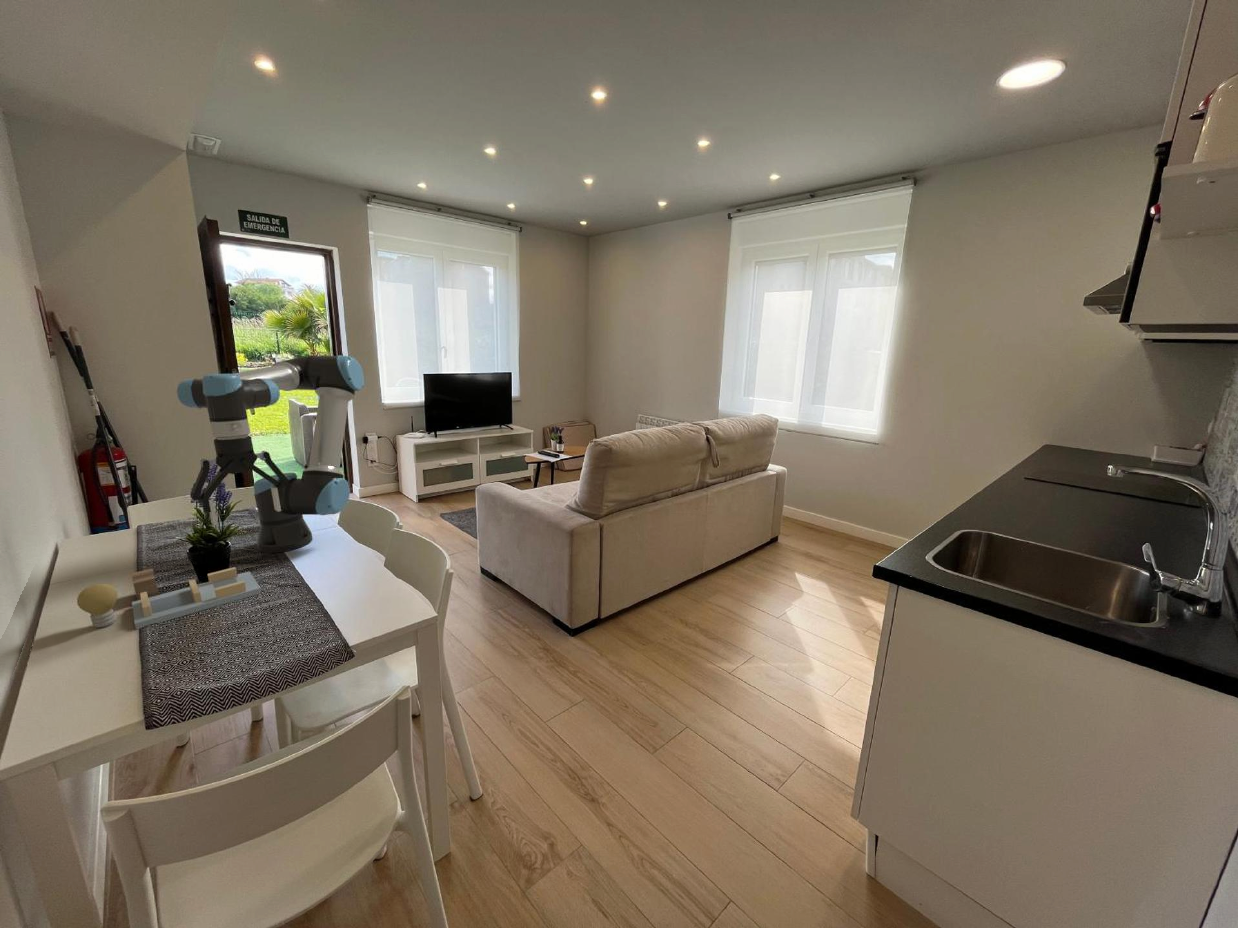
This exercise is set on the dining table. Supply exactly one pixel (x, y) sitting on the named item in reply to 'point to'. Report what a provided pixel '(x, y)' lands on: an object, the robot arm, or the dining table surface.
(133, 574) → the tan wooden stepped block
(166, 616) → the jig
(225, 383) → the robot arm
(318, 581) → the dining table surface
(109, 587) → the light bulb
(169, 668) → the dining table surface
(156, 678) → the dining table surface
